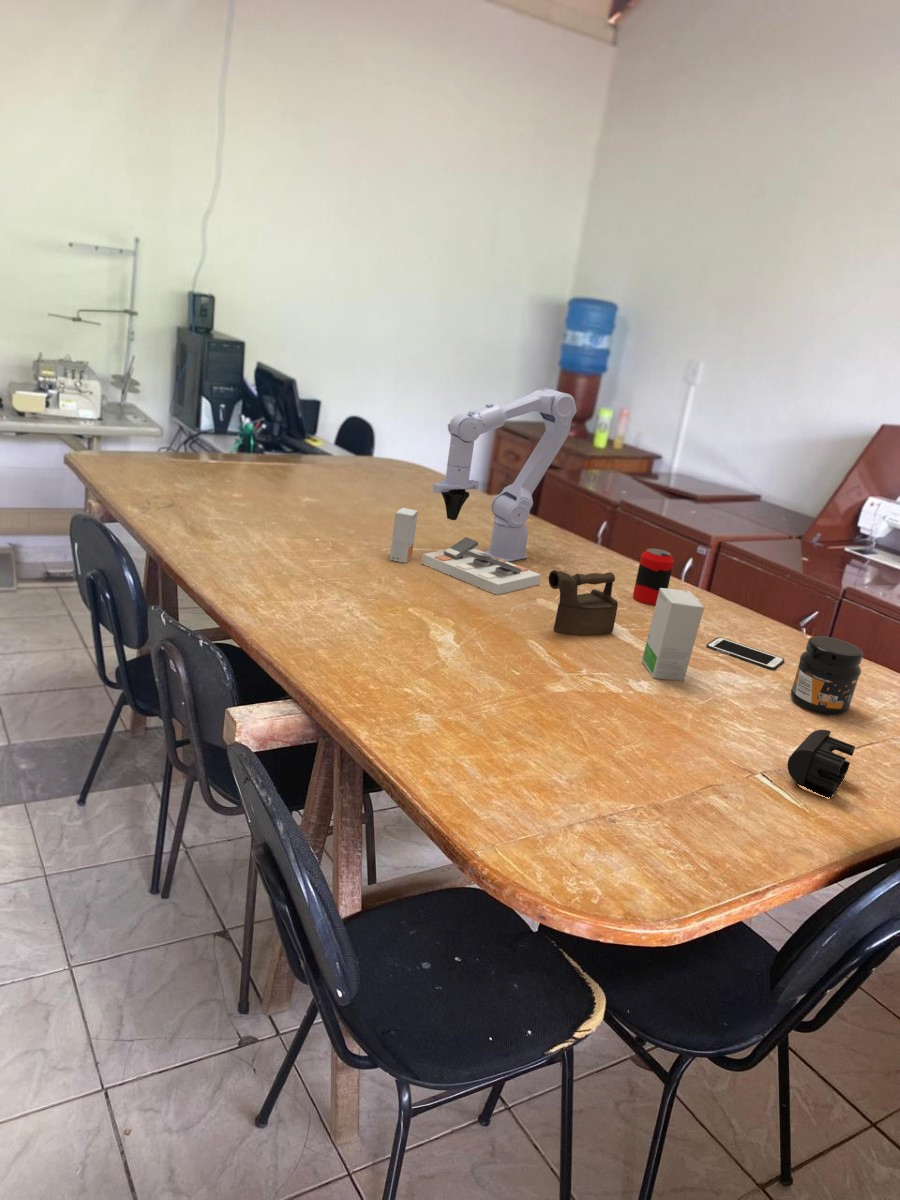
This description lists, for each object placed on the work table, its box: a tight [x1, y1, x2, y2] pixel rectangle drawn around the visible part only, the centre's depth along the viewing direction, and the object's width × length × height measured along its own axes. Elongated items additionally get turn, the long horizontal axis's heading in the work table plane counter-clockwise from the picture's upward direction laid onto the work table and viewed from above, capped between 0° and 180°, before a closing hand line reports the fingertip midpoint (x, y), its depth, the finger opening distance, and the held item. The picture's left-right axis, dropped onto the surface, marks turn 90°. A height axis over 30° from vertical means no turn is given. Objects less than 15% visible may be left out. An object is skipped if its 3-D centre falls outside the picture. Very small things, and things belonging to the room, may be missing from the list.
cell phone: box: [705, 636, 785, 671], centre depth 187 cm, size 8×15×1 cm, turn 54°
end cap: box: [787, 729, 856, 799], centre depth 137 cm, size 10×7×7 cm
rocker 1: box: [444, 536, 479, 560], centre depth 217 cm, size 8×4×1 cm, turn 137°
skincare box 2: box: [641, 588, 705, 682], centre depth 169 cm, size 8×7×16 cm
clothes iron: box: [548, 569, 619, 636], centre depth 185 cm, size 8×16×13 cm, turn 120°
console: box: [421, 548, 542, 596], centre depth 214 cm, size 16×24×3 cm, turn 47°
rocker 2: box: [466, 550, 499, 561], centre depth 213 cm, size 8×4×1 cm, turn 138°
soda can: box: [632, 548, 675, 606], centre depth 211 cm, size 8×8×12 cm
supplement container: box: [790, 635, 864, 717], centre depth 164 cm, size 10×10×12 cm
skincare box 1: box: [389, 507, 419, 564], centre depth 216 cm, size 6×4×12 cm
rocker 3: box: [488, 557, 521, 573], centre depth 209 cm, size 8×4×1 cm, turn 138°
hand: (451, 519), depth 220 cm, fingers closed
